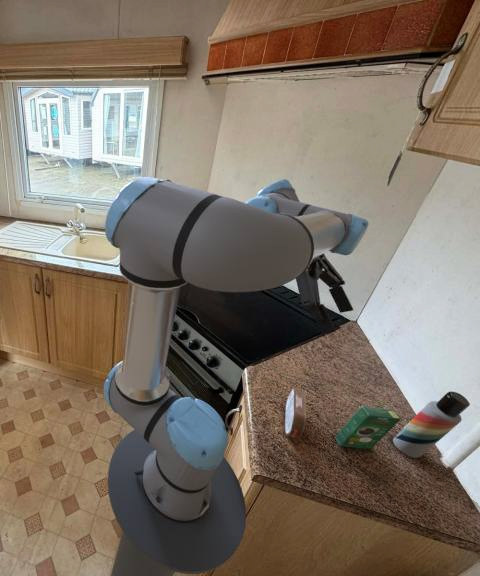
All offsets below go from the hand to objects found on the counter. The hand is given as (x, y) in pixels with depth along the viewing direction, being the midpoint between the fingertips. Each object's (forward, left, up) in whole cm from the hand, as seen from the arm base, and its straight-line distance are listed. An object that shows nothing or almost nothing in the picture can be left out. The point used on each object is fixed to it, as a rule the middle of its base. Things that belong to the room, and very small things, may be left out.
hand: (338, 321), depth 74 cm
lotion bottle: (+24, -12, -30) cm, 40 cm away
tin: (-4, -7, -30) cm, 31 cm away
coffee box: (+10, -12, -30) cm, 34 cm away
